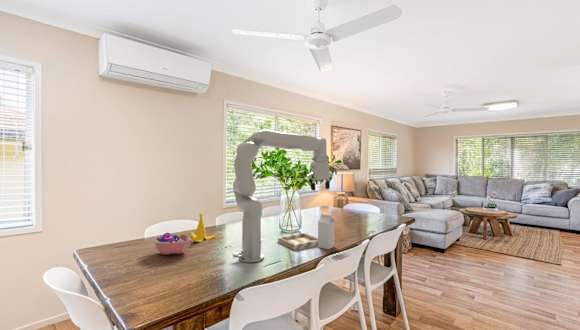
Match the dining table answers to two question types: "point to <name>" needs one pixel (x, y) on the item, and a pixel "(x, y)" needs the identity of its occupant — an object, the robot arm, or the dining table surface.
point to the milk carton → (326, 231)
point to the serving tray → (298, 241)
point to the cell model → (172, 243)
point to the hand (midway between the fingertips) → (320, 189)
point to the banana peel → (201, 232)
